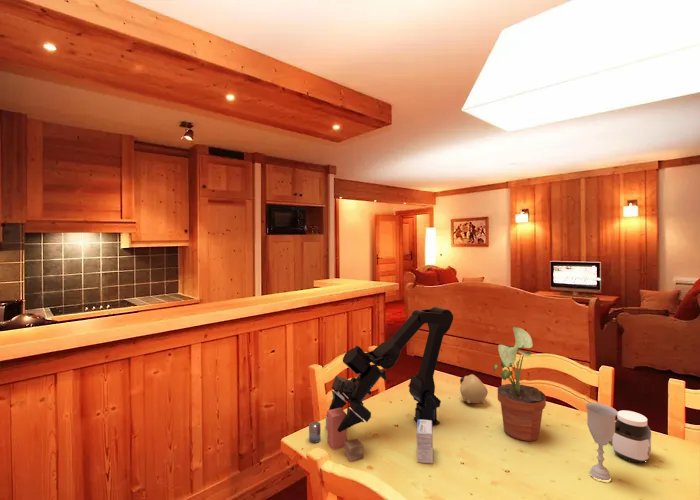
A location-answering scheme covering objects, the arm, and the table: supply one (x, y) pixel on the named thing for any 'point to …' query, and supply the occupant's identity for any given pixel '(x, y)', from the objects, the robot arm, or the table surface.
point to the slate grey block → (326, 424)
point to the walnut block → (353, 450)
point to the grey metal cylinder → (314, 432)
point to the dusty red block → (333, 422)
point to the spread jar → (632, 436)
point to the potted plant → (519, 393)
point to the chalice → (600, 433)
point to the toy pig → (473, 389)
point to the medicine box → (424, 441)
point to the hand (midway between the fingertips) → (332, 423)
